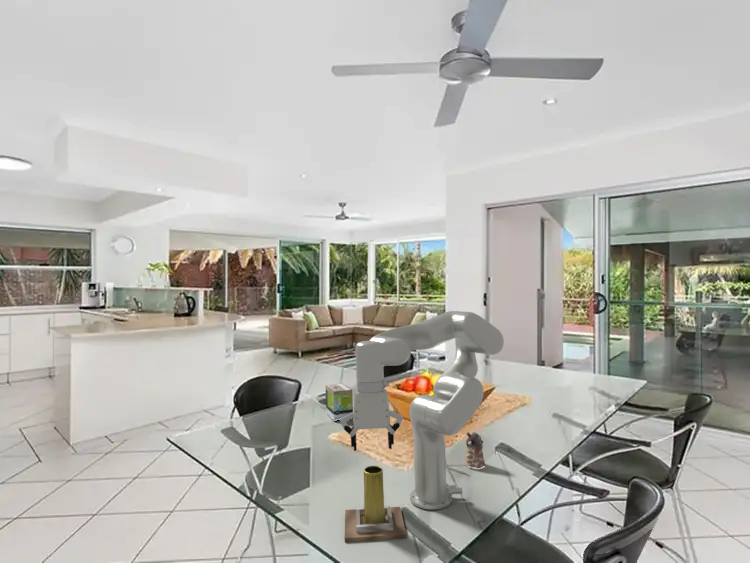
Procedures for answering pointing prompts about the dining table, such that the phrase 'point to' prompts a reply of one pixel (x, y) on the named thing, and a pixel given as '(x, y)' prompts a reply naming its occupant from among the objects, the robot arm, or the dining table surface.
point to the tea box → (338, 401)
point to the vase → (373, 495)
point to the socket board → (374, 526)
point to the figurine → (474, 451)
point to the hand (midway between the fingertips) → (372, 448)
